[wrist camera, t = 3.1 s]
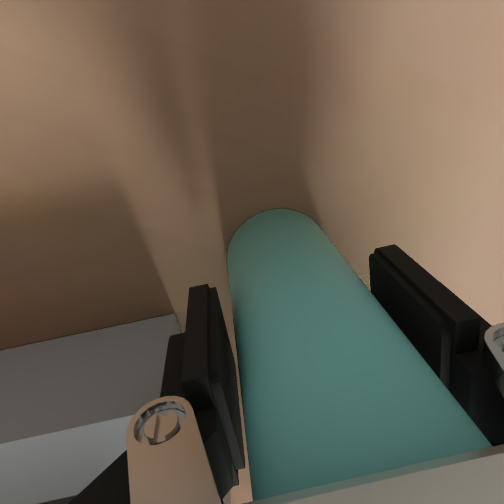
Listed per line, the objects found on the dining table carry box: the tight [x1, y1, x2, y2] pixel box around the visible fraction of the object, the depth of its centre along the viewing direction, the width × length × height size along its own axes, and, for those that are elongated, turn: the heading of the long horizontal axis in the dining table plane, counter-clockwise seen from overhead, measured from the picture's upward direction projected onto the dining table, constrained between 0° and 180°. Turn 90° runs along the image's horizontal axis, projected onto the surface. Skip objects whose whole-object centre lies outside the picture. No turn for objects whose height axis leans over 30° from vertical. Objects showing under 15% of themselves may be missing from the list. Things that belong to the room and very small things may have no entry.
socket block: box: [0, 313, 231, 504], centre depth 15 cm, size 11×11×5 cm
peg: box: [227, 209, 493, 501], centre depth 9 cm, size 4×4×12 cm
